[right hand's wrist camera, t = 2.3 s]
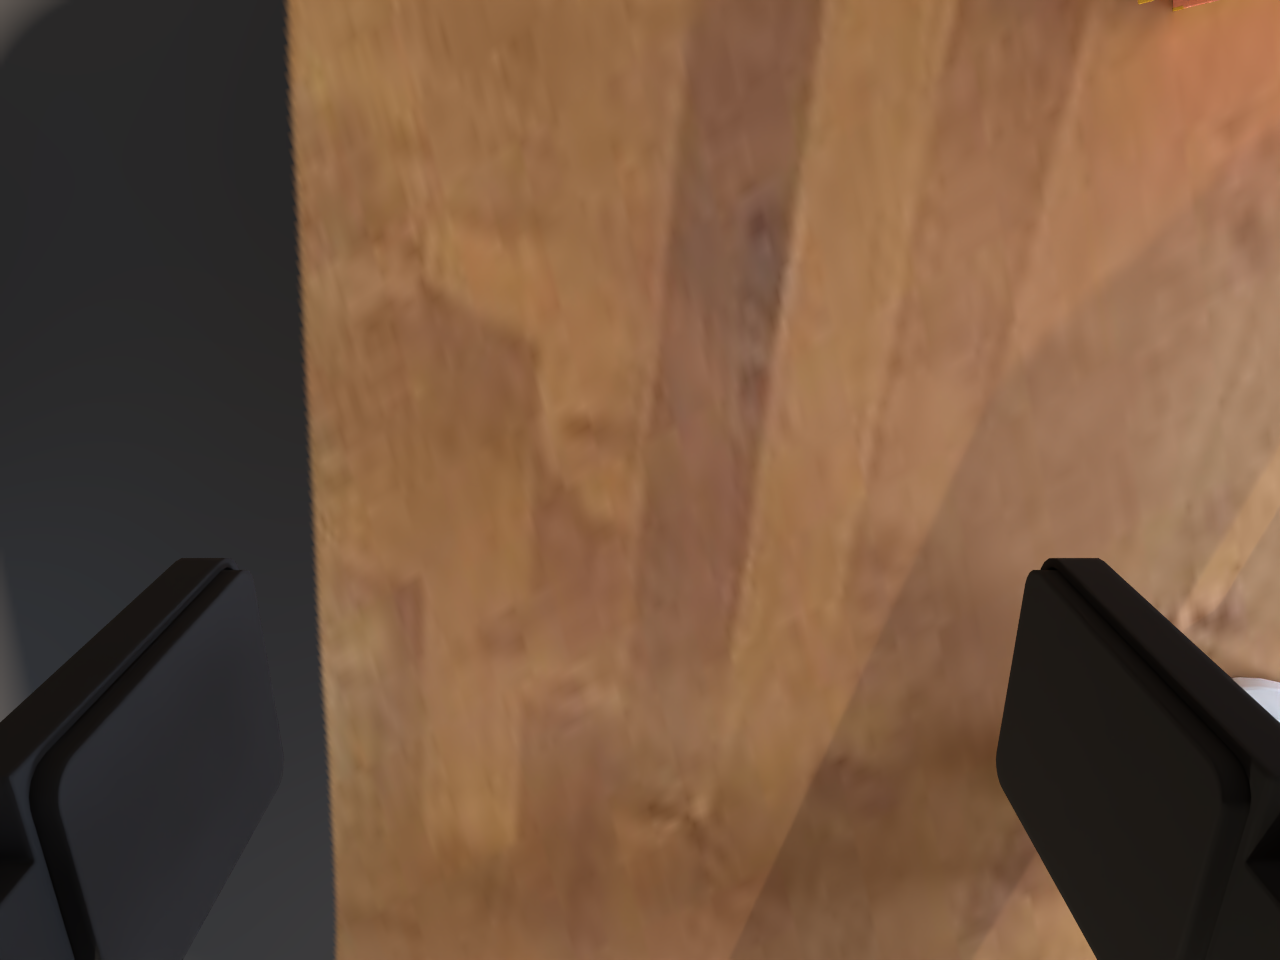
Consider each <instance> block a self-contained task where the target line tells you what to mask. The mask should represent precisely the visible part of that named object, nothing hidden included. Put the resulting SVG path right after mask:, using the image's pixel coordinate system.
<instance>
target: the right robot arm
mask: <svg viewBox="0 0 1280 960" xmlns="http://www.w3.org/2000/svg"><path fill="white" fill-rule="evenodd" d="M283 768H284V755H283V748H282V742H281V736H280V730H279V724H278V718H277V713H276V707H275V701H274V695H273V689H272V683H271V677H270V671H269V666H268V660H267V654H266V648H265V642H264V636H263V630H262V624H261V618H260V613H259V607H258V601H257V595H256V589H255V584H254V580H253V577H252V575H251V573H250V572H249V571H247V570H239V568H238V566H237V564H236V562H235V561H234V560H232V559H231V558H181V559H179V560H178V561H176V562H175V563H174V564H173V565H171V566H170V567H169V568H168V569H167V570H166V571H165V572H164V573H163V574H162V575H161V576H159V577H158V578H157V579H156V580H155V581H154V582H153V583H152V584H151V585H150V586H149V587H148V588H146V589H145V590H144V591H143V592H142V593H141V594H140V595H139V596H138V597H137V598H135V599H134V600H133V601H132V602H131V603H130V604H129V605H128V606H127V607H126V608H125V609H124V610H122V611H121V612H120V613H119V614H118V615H117V616H116V617H115V618H114V619H113V620H112V621H110V622H109V623H108V624H107V625H106V626H105V627H104V628H103V629H102V630H101V631H100V632H98V633H97V634H96V635H95V636H94V637H93V638H92V639H91V640H90V641H89V642H88V643H86V644H85V645H84V646H83V647H82V648H81V649H80V650H79V651H78V652H77V653H76V654H74V655H73V656H72V657H71V658H70V659H69V660H68V661H67V662H66V663H65V664H64V665H62V666H61V667H60V668H59V669H58V670H57V671H56V672H55V673H54V674H53V675H52V676H50V677H49V678H48V679H47V680H46V681H45V682H44V683H43V684H42V685H41V686H40V687H38V688H37V689H36V690H35V691H34V692H33V693H32V694H31V695H30V696H29V697H28V698H26V699H25V700H24V701H23V702H22V703H21V704H20V705H19V706H18V707H17V708H16V709H14V710H13V711H12V712H11V713H10V714H9V715H8V716H7V717H6V718H5V719H4V720H2V721H1V722H0V960H183V958H184V956H185V955H186V953H187V951H188V949H189V947H190V946H191V944H192V942H193V940H194V938H195V937H196V935H197V933H198V931H199V929H200V928H201V926H202V924H203V922H204V920H205V919H206V917H207V915H208V913H209V911H210V910H211V908H212V906H213V904H214V902H215V901H216V899H217V897H218V895H219V893H220V891H221V890H222V888H223V886H224V884H225V883H226V881H227V879H228V877H229V875H230V874H231V872H232V870H233V868H234V866H235V865H236V863H237V861H238V859H239V857H240V856H241V854H242V852H243V850H244V848H245V847H246V845H247V843H248V841H249V839H250V838H251V836H252V834H253V832H254V830H255V829H256V827H257V825H258V823H259V821H260V819H261V818H262V816H263V814H264V812H265V811H266V809H267V807H268V805H269V803H270V801H271V800H272V798H273V796H274V794H275V793H276V791H277V789H278V787H279V784H280V782H281V778H282V774H283ZM996 768H997V775H998V778H999V782H1000V784H1001V787H1002V789H1003V791H1004V793H1005V794H1006V796H1007V798H1008V800H1009V802H1010V803H1011V805H1012V807H1013V809H1014V811H1015V812H1016V814H1017V816H1018V818H1019V820H1020V821H1021V823H1022V825H1023V827H1024V829H1025V830H1026V832H1027V834H1028V836H1029V838H1030V839H1031V841H1032V843H1033V845H1034V847H1035V848H1036V850H1037V852H1038V854H1039V856H1040V857H1041V859H1042V861H1043V863H1044V865H1045V866H1046V868H1047V870H1048V872H1049V874H1050V875H1051V877H1052V879H1053V881H1054V883H1055V884H1056V886H1057V888H1058V890H1059V892H1060V893H1061V895H1062V897H1063V899H1064V901H1065V902H1066V904H1067V906H1068V908H1069V910H1070V911H1071V913H1072V915H1073V917H1074V919H1075V920H1076V922H1077V924H1078V926H1079V928H1080V929H1081V931H1082V933H1083V935H1084V937H1085V938H1086V940H1087V942H1088V944H1089V946H1090V947H1091V949H1092V951H1093V953H1094V955H1095V956H1096V958H1097V960H1280V683H1279V682H1275V681H1271V680H1266V679H1262V678H1244V677H1235V678H1231V677H1230V676H1228V675H1227V674H1226V673H1225V672H1224V671H1223V670H1222V669H1221V668H1220V667H1219V666H1218V665H1216V664H1215V663H1214V662H1213V661H1212V660H1211V659H1210V658H1209V657H1208V656H1207V655H1206V654H1204V653H1203V652H1202V651H1201V650H1200V649H1199V648H1198V647H1197V646H1196V645H1195V644H1194V643H1192V642H1191V641H1190V640H1189V639H1188V638H1187V637H1186V636H1185V635H1184V634H1183V633H1182V632H1180V631H1179V630H1178V629H1177V628H1176V627H1175V626H1174V625H1173V624H1172V623H1171V622H1170V621H1168V620H1167V619H1166V618H1165V617H1164V616H1163V615H1162V614H1161V613H1160V612H1159V611H1158V610H1156V609H1155V608H1154V607H1153V606H1152V605H1151V604H1150V603H1149V602H1148V601H1147V600H1146V599H1145V598H1143V597H1142V596H1141V595H1140V594H1139V593H1138V592H1137V591H1136V590H1135V589H1134V588H1133V587H1131V586H1130V585H1129V584H1128V583H1127V582H1126V581H1125V580H1124V579H1123V578H1122V577H1121V576H1119V575H1118V574H1117V573H1116V572H1115V571H1114V570H1113V569H1112V568H1111V567H1110V566H1109V565H1107V564H1106V563H1105V562H1104V561H1102V560H1101V559H1099V558H1049V559H1048V560H1046V561H1045V562H1044V564H1043V566H1042V567H1041V570H1033V571H1031V572H1030V573H1029V575H1028V577H1027V580H1026V584H1025V589H1024V595H1023V601H1022V607H1021V613H1020V618H1019V624H1018V630H1017V636H1016V642H1015V648H1014V654H1013V660H1012V665H1011V671H1010V677H1009V683H1008V689H1007V695H1006V701H1005V707H1004V713H1003V718H1002V724H1001V730H1000V736H999V742H998V748H997V755H996Z"/></svg>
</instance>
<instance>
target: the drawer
mask: <svg viewBox="0 0 1280 960" xmlns="http://www.w3.org/2000/svg"><path fill="white" fill-rule="evenodd" d="M1150 1H1154V0H1138V4H1142V3H1146V2H1150Z"/></svg>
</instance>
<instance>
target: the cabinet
mask: <svg viewBox="0 0 1280 960" xmlns="http://www.w3.org/2000/svg"><path fill="white" fill-rule="evenodd" d="M1213 1H1217V0H1173V11H1177V10H1181V9H1185V8H1188V7H1191V6H1196V5H1200V4H1205V3H1209V2H1213Z"/></svg>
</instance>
